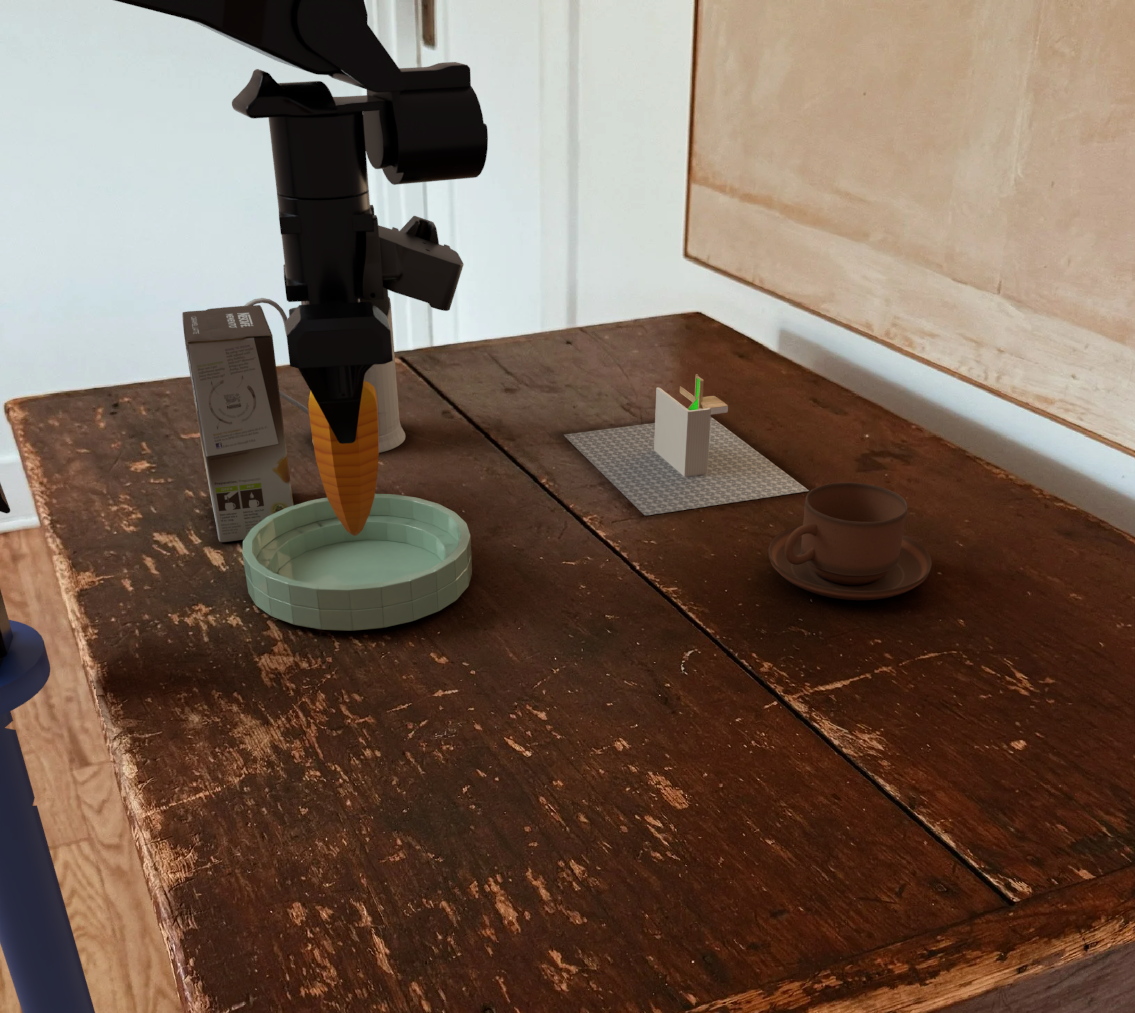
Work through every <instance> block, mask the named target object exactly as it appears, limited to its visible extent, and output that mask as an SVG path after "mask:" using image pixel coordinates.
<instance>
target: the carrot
mask: <svg viewBox="0 0 1135 1013" xmlns="http://www.w3.org/2000/svg"><path fill="white" fill-rule="evenodd" d="M307 405H308V406H307V407H308V408H307V409H309V415H308V416H309V422H310V431H311V438H312V439H313V442H312V445H313V444H314V445H313V448H314V449H313V450H314V456H315V462H316V465H317V469H318V472H319V476H320V480H321V482H322V486H323V490H324V492H325V495H326V498H328V501H329V503H330V505H331V506H332V508H333V510H334V512H335V514H336V516H337V518H338V519H339V520H340V522H341V523H342V525H343V526H344V528H345V529H346V531H348V532H349V533H350V534H352V535H353V536H357V535H358V534H359V533H360V532H361V531H362V530H363V528H364V525H365V523H366V521H367V519H368V516H369V514H370V511H371V507H372V504H373V501H374V497H375V494H376V489H377V480H378V470H379V469H378V468H379V460H380V459H379V458H380V456H379V455H380V453H379V436H378V409H377V395H376V391H375V388H374V386H373V385H371V384H370V383H369V382H367V381H364V382H363V389H362V396H361V403H360V410H359V418H358V425H357V432H356V439H355V442H353V443H346V444H341V443H339V442H338V440H337V438H336V436H335V435H334V433H333V431H332V429H331V427H330V425H329V423H328V422H327V420H326V418H325V416H324V414H323V412H322V410H321V409H320V407H319V405H318V403H317V401H316V400H315V398H314V396H313V394H312V392H311V390H310V392H309V397H308V404H307Z"/></svg>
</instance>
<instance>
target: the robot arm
mask: <svg viewBox="0 0 1135 1013" xmlns="http://www.w3.org/2000/svg"><path fill="white" fill-rule="evenodd" d="M113 1H114V2H117V3H122V4H126V5H130V6H135V7H138V8H142V9H145V10H149V11H153V12H157V13H161V14H165V15H169V16H173V17H176V18H180V19H185V20H188V21H190V22H192V23H195V24H197V25H200V26H202V27H204V28H206V29H208V30H209V31H211V32H214V33H216V34H218V35H219V36H222V37H224V38H227V39H228V40H231V41H233V42H234V43H237V44H239V45H241V46H243V47H246V48H248V49H249V50H252V51H254V52H257V53H258V54H260V55H262V56H265V57H267V58H270V59H272V60H274V61H276V62H279V63H281V64H284V65H287V66H290V67H292V68H296V69H299V70H302V71H304V72H308V73H310V74H314V75H318V76H328V77H330V78H332V79H334V80H336V81H340V82H343V83H346V84H349V85H352V86H355V87H358V88H361V89H364V90H366V95H350V96H349V95H348V96H347V95H346V96H333V94H332V92H331V90H330V89H329V87H328V85H327V84H326V83H325V82H323V81H322V80H312V81H311V80H310V81H309V80H308V81H293V82H291V81H289V82H277V81H276V80H275V79H274V77H273V76H272V75H271V73H270V72H267V71H265V70H262V69H259V68H255V69H254V70H253V72H252V74H251V77H250V79H249V81H248V83H247V84H246V85H245V86H244V87H243V89H242V90H241V91H240V92H239V93H238V94H237V95H236V96H235V97H234V98H233V99H232V101H231V107H232V109H233V111H235V112H237V113H240V114H241V115H244V116H246V117H248V118H250V119H267V118H268V124H269V132H270V133H269V134H270V144H271V151H272V152H271V153H272V162H273V171H274V179H275V188H276V198H277V206H278V207H277V208H278V222H279V232H280V235H281V242H282V251H283V252H282V253H283V261H284V264H283V280H284V289H285V290H284V291H285V297H286V298H285V299H286V302H288V303H296V302H297V303H298V302H300V304H299V305H298V306H297V307H296V306H295V307H291V308H290V309H288V317H287V320H286V333H285V335H286V334H287V336H286V342H287V344H286V345H287V351H288V361H289V367H291V368H295V369H297V370H298V371H299V373H300V374H301V376H302V378H303V380H304V382H305V384H306V385H307V387H308V389H309V390H310V391H311V392H312V394H313V396H314V398H315V400H316V401H317V403H318V405H319V407H320V409H321V410H322V412H323V414H324V416H325V418H326V420H327V422H328V423H329V425H330V427H331V429H332V431H333V433H334V435H335V436H336V438H337V440H338V442H339V443H341V444H346V443H353V442H355V439H356V432H357V425H358V418H359V410H360V403H361V396H362V389H363V382H364V376H365V373H366V372H367V371H368V370H369V369H370V368H371V367H372V366H373V365H377V364H386V363H388V362H391V361H393V357H392V343H391V330H390V327H389V323H388V320H387V316H386V315H385V314H384V313H383V312H382V311H380V310H379V309H378V308H377V307H376V306H375V305H374V304H373V303H372V302H360V299H365V300H383V299H384V293H383V287H384V288H385V289H387V290H388V291H390V292H392V293H395V294H398V295H401V296H404V297H408V298H411V299H415V300H417V301H420V302H424V303H427V304H428V305H429V307H430V308H432V309H435V310H438V311H445V312H448V311H450V310H451V306H452V303H453V300H454V297H455V293H456V290H457V288H458V284H459V281H460V278H461V275H462V271H463V268H464V265H465V264H464V262H463V260H462V258H461V256H460V255H459V253H458V252H457V251H456V250H455V249H452V248H451V246H450V245H448V244H446V243H444V244H440V241H439V235H438V229H437V227H436V225H435V223H434V221H431V220H430V219H429V220H428V219H426V218H423V217H419V216H417V215H413V216H411V218H409V220H408V221H407V222H406V224H405V225H403V227H401V229H400V230H399V228H398V227H394V226H392V228H390V227H387V226H386V227H385V226H383V225H379V219H378V216H377V214H375V208H374V205H373V204H371V200H370V189H369V188H370V187H369V177H368V175H369V174H368V163H367V162H368V161H369V163H370V165H371V167H372V168H374V169H375V170H382V172H383V174H384V177H385V178H386V180H387V181H388V182H389V183H390V184H391V185H393V186H396V185H407V184H408V185H409V184H419V183H431V182H442V181H452V180H464V179H466V180H467V179H474V178H478V177H479V176H480V175H481V174H482V172H483V171H484V168H485V165H486V161H487V157H488V156H487V155H488V149H489V148H488V146H489V145H488V143H489V142H488V141H489V132H488V125H487V124H486V123H484V116H483V111H482V107H481V103H480V100H479V98H478V95H477V93H476V91H475V90H474V88H473V86H472V80H471V79H472V78H471V76H472V75H471V67H470V66H469V65H468V64H465V63H461V62H458V61H449V62H437V63H435V64H432V65H430V66H429V65H428V66H420V67H399V66H398V65H397V63H396V62H395V60H394V59H393V58H392V56H391V55H390V53H389V52H388V51H387V49H386V48H385V47H384V45H383V44H382V42H381V41H380V39H379V38H378V37H377V35H376V34H375V32H374V31H373V29H371V27H370V26H369V23H368V19H369V18H368V11H367V7H366V3H365V0H113ZM367 159H368V161H367ZM0 512H1V513H4V514H10V513H11V508H10V505H9V502H8V500H7V497H6V494H5V491H4V489H3V486H2V484H1V482H0ZM6 608H7V607H6V605H5V600H4V597H3V593H2V588H0V667H1V664H2V661H3V658H4V657H5V656H6V655H7V654H8V651H9V648H10V645H11V642H12V639H13V634H12V630H11V626H10V622H9V620H10V619H9V615H8V611H7V609H6Z"/></svg>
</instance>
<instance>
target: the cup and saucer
mask: <svg viewBox="0 0 1135 1013" xmlns="http://www.w3.org/2000/svg"><path fill="white" fill-rule="evenodd" d="M908 506H909V505H908V502H907V501H906V499H905V498H904V497H903V496H901V495H900V494H899V493H897V492H895V491H893V490H891V489H888V488H885V487H883V486H879V485H875V484H871V483H864V482H855V481H853V482H851V481H849V482H848V481H847V482H844V481H843V482H841V481H840V482H832V483H826V484H821V485H819V486H816V487H814V488H812V489H811V490H809V491H808V493H807V494H806V496H805V501H804V512H803V521H802V524H799V525H796V526H792V527H790V528H787V529H785V530H783V531H781V532H780V533H778V534H776V536H774V537H773V538H772V539H771V541H770V543H769V544H768V557H769V561H770V563H771V565H772V567H773V568H774V570H775V571H776V572H777V573H778V574H779V575H780V576H781V577H783V578H784V580H786V581H787V582H789V583H791V584H792V585H794V586H796V587H797V588H800V589H802V590H804V591H806V592H809V593H812V594H815V595H819V596H822V597H827V598H832V599H837V600H844V601H845V600H846V601H877V600H882V599H889V598H892V597H897V596H900V595H902V594H905V593H907V592H910V591H911V590H913V589H914V588H916V587H918V586H919V585H921V584H922V583H923V582H924V581H925V580H926V579H927V578H928V576H929V574H930V572H931V568H932V567H933V566H932V565H933V560H932V558H931V555H930V553H929V551H928V550H927V549H926V548H925V547H924V546H923V545H922V544H921V543H920V542H918V541H916V540H915V539H913V538H911V537H910V536H908V535H906V534H904V531H905V527H906V522H907V514H908V509H909V507H908Z"/></svg>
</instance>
